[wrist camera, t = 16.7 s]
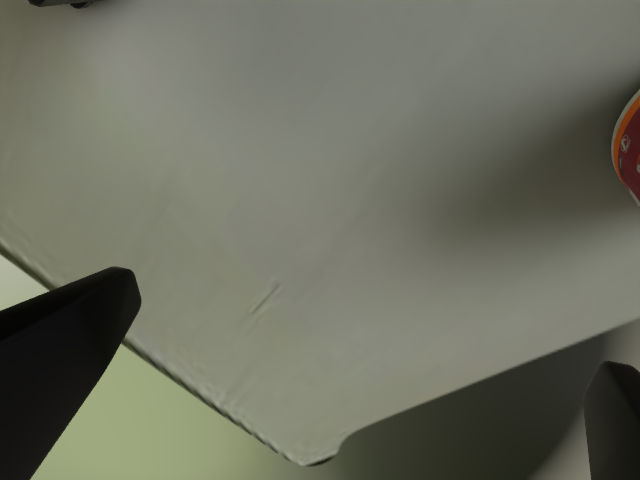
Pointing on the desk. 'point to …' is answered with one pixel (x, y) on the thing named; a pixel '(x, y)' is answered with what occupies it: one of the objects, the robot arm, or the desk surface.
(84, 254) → the desk surface
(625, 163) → the pill bottle
